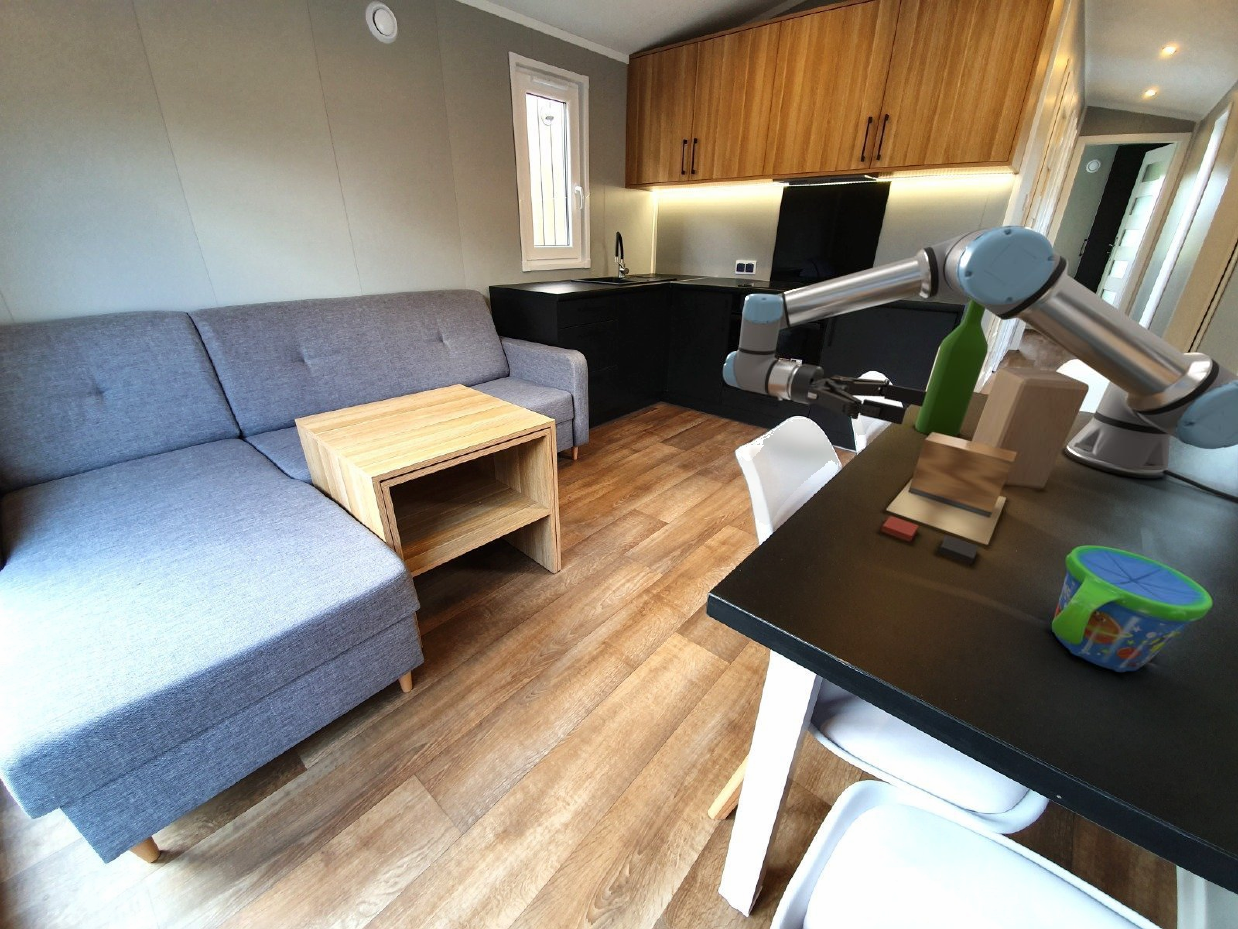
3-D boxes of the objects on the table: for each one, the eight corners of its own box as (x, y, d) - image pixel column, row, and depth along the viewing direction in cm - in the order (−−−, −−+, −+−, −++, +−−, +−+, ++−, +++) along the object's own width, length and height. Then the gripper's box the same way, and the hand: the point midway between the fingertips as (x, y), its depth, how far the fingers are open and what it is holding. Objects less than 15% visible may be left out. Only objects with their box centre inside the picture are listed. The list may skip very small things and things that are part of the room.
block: (1044, 492, 88) (1094, 384, 80) (983, 485, 90) (1026, 379, 82) (1016, 468, 97) (1058, 369, 89) (961, 463, 99) (997, 365, 90)
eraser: (994, 506, 82) (1017, 452, 77) (989, 517, 78) (1013, 461, 74) (915, 482, 89) (932, 431, 85) (907, 492, 86) (925, 439, 81)
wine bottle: (921, 421, 121) (965, 282, 107) (963, 432, 115) (1015, 286, 101) (908, 429, 116) (953, 283, 102) (951, 441, 110) (1004, 288, 96)
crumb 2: (975, 555, 70) (979, 546, 69) (970, 567, 67) (974, 558, 66) (943, 543, 72) (946, 535, 71) (937, 555, 69) (940, 546, 69)
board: (1005, 500, 85) (1006, 497, 85) (986, 547, 71) (987, 544, 71) (916, 474, 93) (917, 472, 93) (884, 512, 80) (885, 509, 80)
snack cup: (1095, 606, 60) (1135, 537, 56) (1203, 674, 51) (1261, 598, 47) (993, 623, 57) (1027, 551, 53) (1089, 700, 48) (1141, 620, 43)
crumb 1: (916, 533, 74) (919, 525, 74) (909, 544, 72) (912, 536, 71) (888, 523, 77) (890, 515, 76) (880, 533, 74) (882, 525, 73)
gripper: (818, 388, 107) (925, 411, 95) (765, 414, 91) (887, 446, 78) (825, 354, 104) (937, 373, 92) (771, 374, 87) (900, 401, 75)
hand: (914, 407), depth 85 cm, fingers open, 13 cm apart
